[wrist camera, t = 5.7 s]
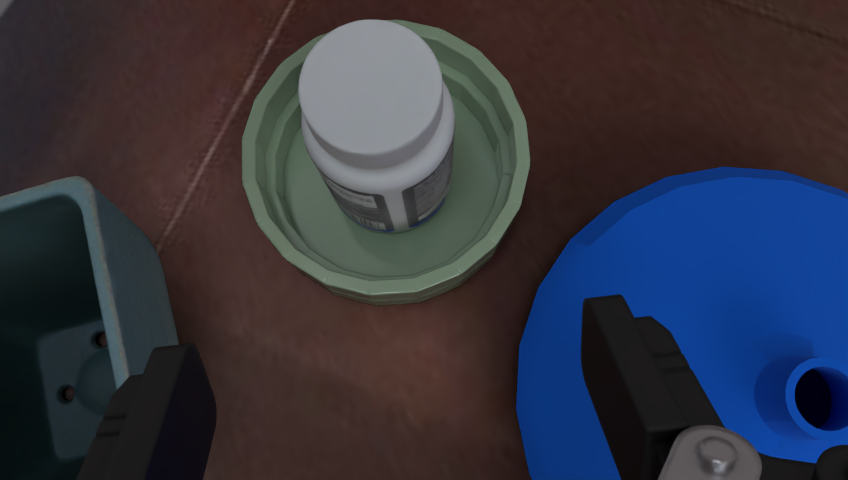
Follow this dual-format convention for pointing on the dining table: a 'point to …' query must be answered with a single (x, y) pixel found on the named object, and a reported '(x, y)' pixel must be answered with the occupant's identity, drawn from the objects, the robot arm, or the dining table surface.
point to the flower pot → (70, 321)
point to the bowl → (406, 251)
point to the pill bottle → (378, 124)
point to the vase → (702, 313)
